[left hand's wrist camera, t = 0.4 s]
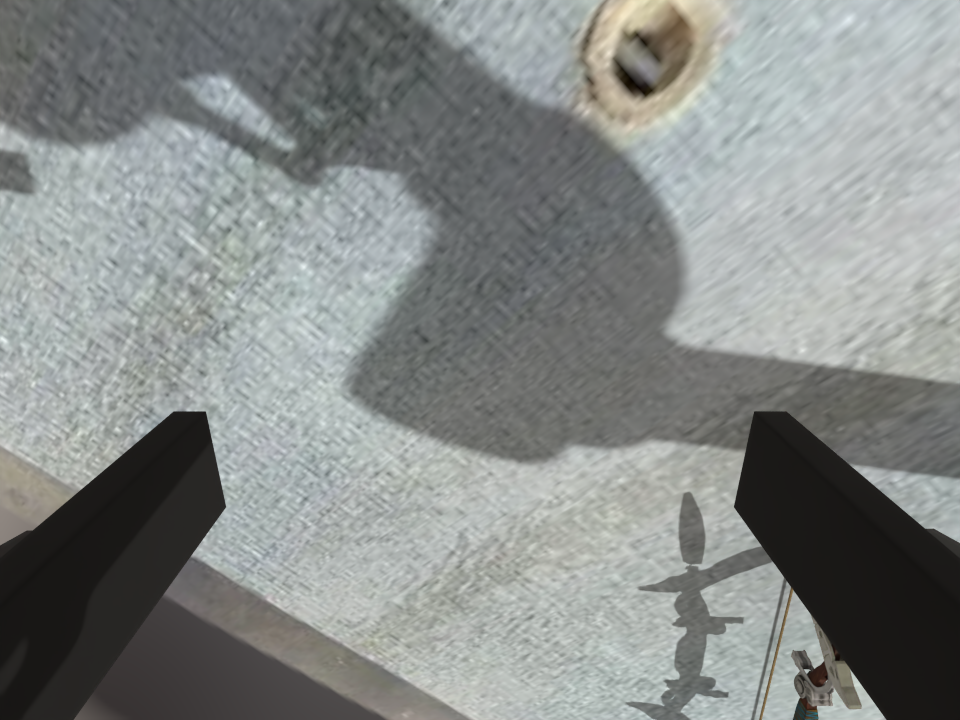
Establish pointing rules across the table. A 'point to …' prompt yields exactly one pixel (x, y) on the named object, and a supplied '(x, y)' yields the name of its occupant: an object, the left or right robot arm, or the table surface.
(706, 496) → the table surface
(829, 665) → the bow
